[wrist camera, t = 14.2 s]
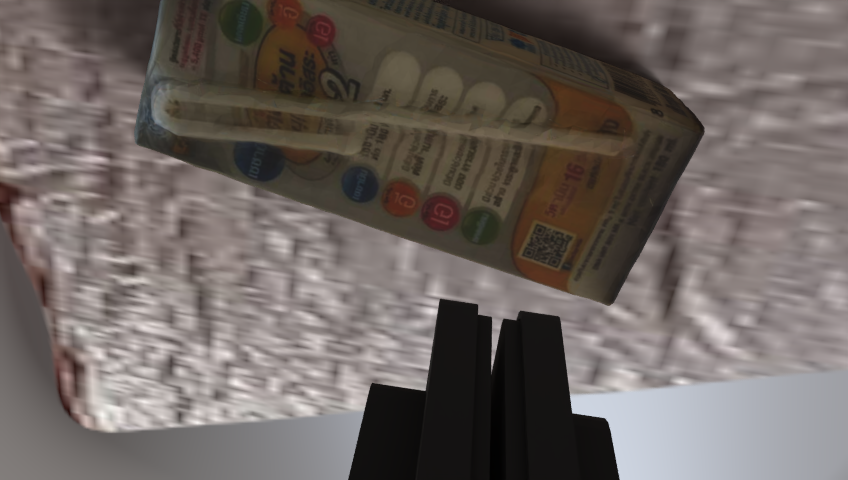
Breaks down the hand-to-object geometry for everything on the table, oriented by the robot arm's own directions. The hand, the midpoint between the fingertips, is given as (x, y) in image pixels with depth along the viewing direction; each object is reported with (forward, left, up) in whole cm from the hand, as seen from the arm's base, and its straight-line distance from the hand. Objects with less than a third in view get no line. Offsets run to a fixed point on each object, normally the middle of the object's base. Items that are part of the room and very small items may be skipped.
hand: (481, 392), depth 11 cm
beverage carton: (+2, +2, -23) cm, 23 cm away
